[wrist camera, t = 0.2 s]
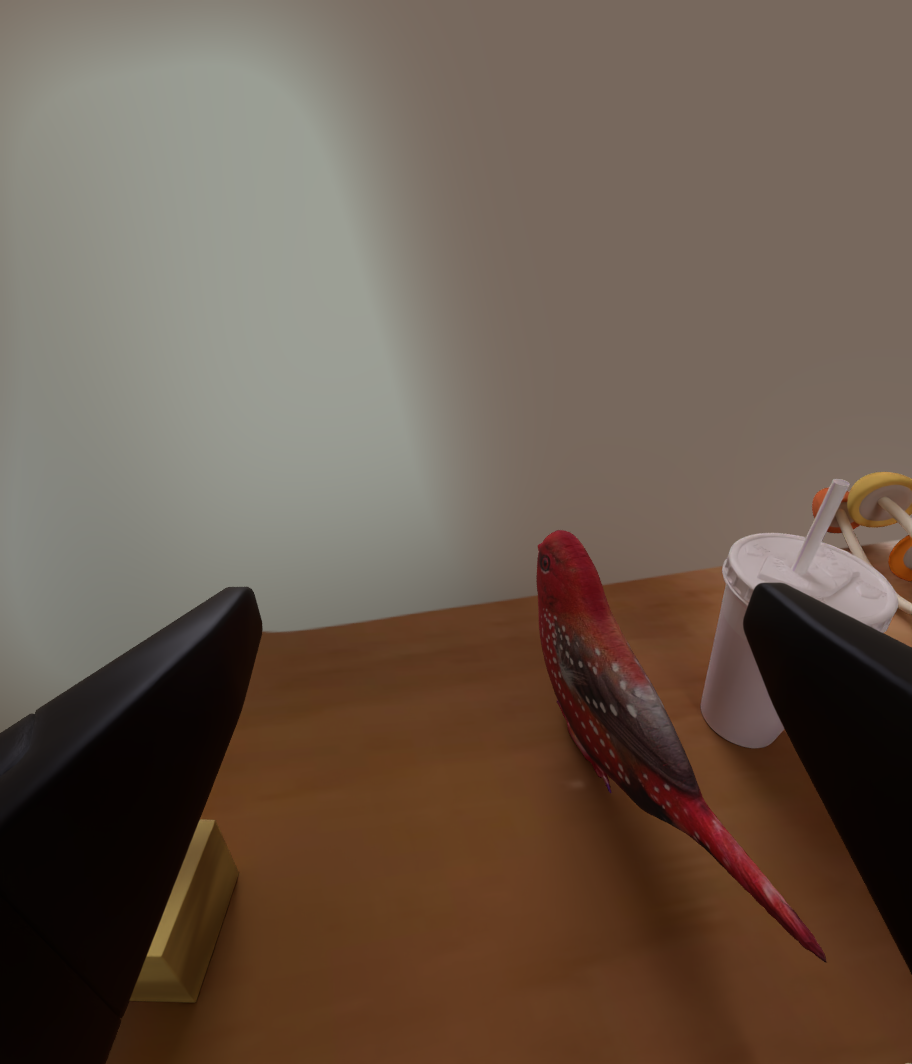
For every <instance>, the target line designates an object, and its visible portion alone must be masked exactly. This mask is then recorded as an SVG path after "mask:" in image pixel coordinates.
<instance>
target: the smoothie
mask: <svg viewBox="0 0 912 1064" xmlns="http://www.w3.org/2000/svg"><path fill="white" fill-rule="evenodd" d="M849 485H850V484H849V483H848V482H847V481H844V480H841V479H834V480H833V481H832V483H831V485H830V487H829V489H828V491H827V494H826V496H825V498H824V500H823V502H822V504H821V506H820V509H819V511H818V513H817V515H816V517H815V519H814V521H813V523H812V526H811V528H810V530H809V532H808V534H807V536H806V537H802V536H797V535H791V534H782V533H761V534H753V535H750V536H747V537H744V538H741V539H740V540H738V541H737V542H735V543H734V544H733V546H732V547H731V549H730V551H729V554H728V557H727V559H726V560H725V561H724V564H723V568H722V572H723V576H724V580H725V583H726V587H725V592H724V596H723V600H722V606H721V611H720V616H719V620H718V625H717V630H716V634H715V639H714V644H713V649H712V653H711V658H710V663H709V667H708V672H707V677H706V682H705V686H704V691H703V696H702V700H701V712H702V715H703V717H704V719H705V720H706V722H707V723H708V725H709V726H710V727H711V728H712V729H713V730H714V731H715V732H716V733H717V734H719V735H720V736H721V737H723V738H724V739H726V740H728V741H730V742H732V743H734V744H737V745H740V746H743V747H748V748H762V747H766V746H768V745H770V744H771V743H772V742H773V741H774V740H775V739H776V738H777V737H778V736H779V735H780V734H781V732H782V731H783V730H784V727H783V725H782V723H781V721H780V719H779V717H778V715H777V713H776V711H775V709H774V706H773V704H772V702H771V699H770V697H769V695H768V692H767V690H766V687H765V684H764V682H763V679H762V677H761V674H760V672H759V669H758V666H757V664H756V661H755V659H754V656H753V654H752V651H751V648H750V646H749V643H748V641H747V638H746V635H745V633H744V629H743V618H744V615H745V612H746V609H747V606H748V604H749V601H750V598H751V595H752V593H753V590H754V588H755V587H756V585H758V584H760V583H785V584H787V585H789V586H791V587H793V588H795V589H797V590H799V591H801V592H803V593H805V594H807V595H809V596H811V597H813V598H815V599H817V600H819V601H821V602H823V603H825V604H827V605H828V606H830V607H832V608H834V609H836V610H838V611H840V612H842V613H844V614H846V615H848V616H850V617H852V618H854V619H856V620H858V621H860V622H862V623H864V624H866V625H868V626H870V627H872V628H874V629H876V630H878V631H880V632H882V633H884V632H885V631H887V629H888V626H889V624H890V622H891V619H892V617H893V615H894V614H895V612H896V611H897V608H898V597H897V594H896V592H895V590H894V588H893V587H892V585H891V584H890V583H889V582H888V580H887V579H886V578H885V577H884V576H883V575H882V574H881V573H880V572H878V571H877V570H876V569H875V568H874V567H872V566H871V565H869V564H868V563H866V562H865V561H863V560H862V559H860V558H858V557H856V556H854V555H852V554H851V553H849V552H847V551H844V550H842V549H840V548H837V547H835V546H833V545H830V544H827V543H824V542H822V540H823V538H824V536H825V534H826V532H827V530H828V528H829V526H830V524H831V522H832V520H833V518H834V516H835V514H836V512H837V510H838V507H839V505H840V503H841V501H842V499H843V497H844V495H845V493H846V491H847V489H848V487H849Z"/></svg>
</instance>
